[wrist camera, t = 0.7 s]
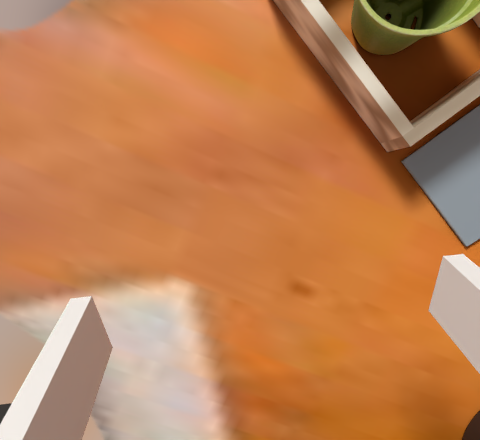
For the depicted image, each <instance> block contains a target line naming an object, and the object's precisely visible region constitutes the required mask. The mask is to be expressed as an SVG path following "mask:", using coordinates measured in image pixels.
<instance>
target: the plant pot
mask: <svg viewBox="0 0 480 440" xmlns="http://www.w3.org/2000/svg"><path fill="white" fill-rule="evenodd" d="M479 12H480V0H354V6H353V12H352V19H351V26H352V31H353V33H354V35H355V37H356V39H357V41H358V43H359V45H360V46H361V47H362V48H363V49H365V50H366V51H368V52H370V53H373V54H377V55H390V54H394V53H397V52H399V51H401V50H403V49H405V48H406V47H408V46H410V45H411V44H413V43H415V42H416V41H418V40H419V39H421V38H423V37H425V36H433V35H438V34H442V33H445V32H448V31H450V30H453V29H455V28H457V27H459V26H461V25H462V24H464V23H466V22H467V21H469V20H470V19H471V18H473V17H474V16H475V15H477V14H478V13H479ZM386 14H390V15H391V18H390V19H389V20H387V19H386V18H385V16H386ZM414 16H416V17H417V23H416V26H415V29H414V30H412V29H410V28H411V26H412V24H413V21H414Z"/></svg>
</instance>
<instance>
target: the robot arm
mask: <svg viewBox="0 0 480 440" xmlns="http://www.w3.org/2000/svg"><path fill="white" fill-rule="evenodd" d="M429 312H430V313H431V314H432V315H433V316H434V318H435V319H436V320H437V321H438V323H439V324H440V325H441V326H442V328H443V329H444V330H445V331H446V333H447V334H448V335H449V336H450V338H451V339H452V340H453V341H454V343H455V344H456V345H457V346H458V348H459V349H460V350H461V351H462V352H463V354H464V355H465V356H466V357H467V359H468V360H469V361H470V362H471V364H472V365H473V366H474V367H475V369H476V370H477V371H478V372H479V374H480V268H479V267H478V266H477V265H476V264H474V263H473V262H472V261H471V260H470V259H468V258H467V257H466V256H465V255H464V254H459V255H450V256H443V258H442V262H441V266H440V270H439V273H438V277H437V281H436V285H435V289H434V292H433V296H432V300H431V304H430V307H429ZM112 348H113V347H112V345H111V343H110V340H109V338H108V335H107V333H106V330H105V328H104V325H103V323H102V320H101V318H100V315H99V313H98V310H97V308H96V305H95V303H94V300H93V298H92V296H89V297H80V298H72V299H70V301H69V303H68V304H67V306H66V308H65V310H64V312H63V313H62V315H61V317H60V319H59V320H58V322H57V324H56V326H55V328H54V329H53V331H52V333H51V335H50V336H49V338H48V340H47V342H46V344H45V345H44V347H43V349H42V351H41V353H40V354H39V356H38V358H37V360H36V362H35V363H34V365H33V367H32V369H31V370H30V372H29V374H28V376H27V377H26V379H25V381H24V383H23V385H22V386H21V388H20V390H19V392H18V394H17V395H16V397H15V399H14V401H13V402H12V403H11V404H3V405H0V440H82V437H83V434H84V431H85V428H86V425H87V422H88V420H89V417H90V414H91V411H92V408H93V405H94V402H95V399H96V396H97V393H98V390H99V387H100V384H101V381H102V378H103V375H104V372H105V369H106V366H107V363H108V360H109V357H110V354H111V351H112ZM462 440H480V411H479V412H478V413H477V414H476V415H475V416H474V418H473V419H472V420H471V422H470V423H469V425H468V427H467V429H466V431H465V433H464V436H463V439H462Z"/></svg>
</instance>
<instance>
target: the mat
mask: <svg viewBox="0 0 480 440" xmlns="http://www.w3.org/2000/svg"><path fill="white" fill-rule="evenodd" d="M401 162H402V163H403V164H404V166H405V167H406V168H407V170H408V171H409V172H410V174H411V175H412V176H413V178H414V179H415V180H416V182H417V183H418V184H419V186H420V187H421V188H422V190H423V191H424V192H425V194H426V195H427V196H428V198H429V199H430V200H431V202H432V203H433V204H434V206H435V207H436V208H437V210H438V211H439V212H440V214H441V215H442V216H443V218H444V219H445V220H446V222H447V223H448V224H449V226H450V227H451V228H452V230H453V231H454V232H455V234H456V235H457V236H458V238H459V239H460V240H461V242H462V243H463V244H464V246H469V245H470V244H472V243H473V242H475V241H477V240H478V239H480V105H478V106H477V107H475V108H474V109H473V110H471V111H470V112H469V113H467V114H466V115H464V116H463V117H462V118H460V119H459V120H458V121H456V122H455V123H453V124H452V125H451V126H449V127H448V128H447V129H445V130H444V131H442V132H441V133H440V134H438V135H437V136H436V137H434V138H433V139H431V140H430V141H429V142H427V143H426V144H425V145H423V146H422V147H420V148H419V149H418V150H416V151H415V152H413V153H412V154H411V155H409V156H408V157H407V158H405V159H404V160H402V161H401Z"/></svg>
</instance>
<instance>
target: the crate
mask: <svg viewBox="0 0 480 440" xmlns="http://www.w3.org/2000/svg"><path fill="white" fill-rule="evenodd" d="M273 1H274V3H275V4H276V5H277V7H278V8H279V9H280V11H281V12H282V13H283V14H284V16H285V17H286V18H287V20H288V21H289V22H290V24H291V25H292V26H293V28H294V29H295V30H296V32H297V33H298V34H299V36H300V37H301V38H302V40H303V41H304V42H305V44H306V45H307V46H308V48H309V49H310V50H311V52H312V53H313V54H314V56H315V57H316V58H317V60H318V61H319V62H320V64H321V65H322V66H323V68H324V69H325V70H326V72H327V73H328V74H329V76H330V77H331V78H332V80H333V81H334V82H335V84H336V85H337V86H338V88H339V89H340V90H341V92H342V93H343V94H344V96H345V97H346V98H347V100H348V101H349V102H350V104H351V105H352V106H353V108H354V109H355V110H356V112H357V113H358V114H359V116H360V117H361V118H362V120H363V121H364V122H365V123H366V125H367V126H368V127H369V129H370V130H371V131H372V133H373V134H374V135H375V137H376V138H377V139H378V141H379V142H380V143H381V145H382V146H383V147H384V149H385V150H386V151H387V152H389V151H394V150H398V149H402V148H407V147H411V146H412V145H413V144H415V143H416V142H417V141H419V140H420V139H422V138H423V137H424V136H426V135H427V134H428V133H430V132H431V131H432V130H434V129H435V128H437V127H438V126H439V125H441V124H442V123H443V122H445V121H446V120H448V119H449V118H450V117H452V116H453V115H454V114H456V113H457V112H458V111H460V110H461V109H463V108H464V107H465V106H467V105H468V104H469V103H471V102H472V101H473V100H475V99H476V98H478V97H479V96H480V70H478V71H477V72H476V73H474V74H473V75H472V76H470V77H469V78H468V79H466V80H465V81H464V82H462V83H461V84H460V85H458V86H457V87H455V88H454V89H453V90H451V91H450V92H449V93H447V94H446V95H445V96H443V97H442V98H441V99H439V100H438V101H437V102H435V103H434V104H433V105H431V106H430V107H429V108H427V109H426V110H425V111H423V112H422V113H421V114H419V115H418V116H417V117H415V118H414V119H413V120H411V121H410V122H409V120H408V119H407V118H406V116H405V115H404V114H403V112H402V111H401V110H400V108H399V107H398V106H397V104H396V103H395V102H394V100H393V99H392V98H391V96H390V95H389V94H388V92H387V91H386V90H385V88H384V87H383V86H382V84H381V83H380V82H379V80H378V79H377V77H376V76H375V75H374V73H373V72H372V71H371V69H370V68H369V67H368V65H367V64H366V63H365V61H364V60H363V59H362V57H361V56H360V55H359V53H358V52H357V51H356V49H355V48H354V47H353V45H352V44H351V43H350V41H349V40H348V39H347V37H346V36H345V35H344V33H343V32H342V31H341V29H340V28H339V27H338V25H337V24H336V23H335V21H334V20H333V19H332V17H331V16H330V15H329V13H328V12H327V11H326V9H325V8H324V7H323V5H322V4H321V3H320V1H319V0H273ZM472 19H473V20H474V21H475V23H476V24H477V25H478V27H479V28H480V12H479V13H478V14H477V15H475V16H474V17H473V18H472Z"/></svg>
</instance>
